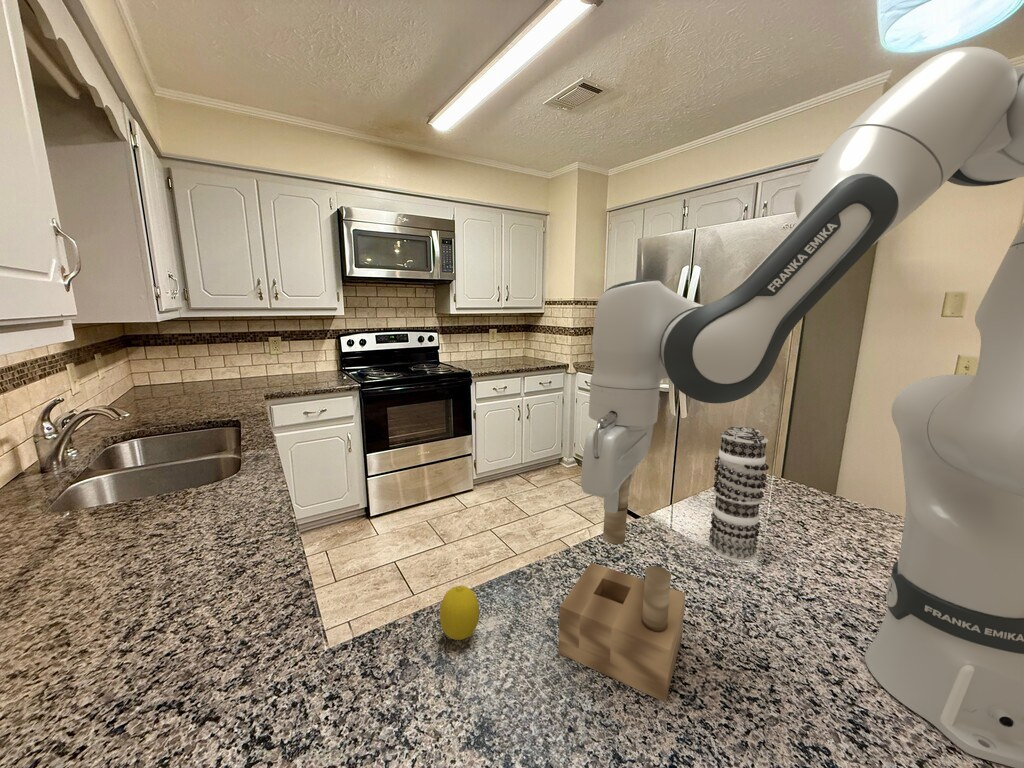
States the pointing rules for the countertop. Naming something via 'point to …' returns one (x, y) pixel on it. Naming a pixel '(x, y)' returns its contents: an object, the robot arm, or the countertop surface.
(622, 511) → the peg
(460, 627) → the lemon
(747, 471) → the decorative candle
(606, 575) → the wooden peg hole block
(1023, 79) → the robot arm
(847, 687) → the countertop surface
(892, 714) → the countertop surface
